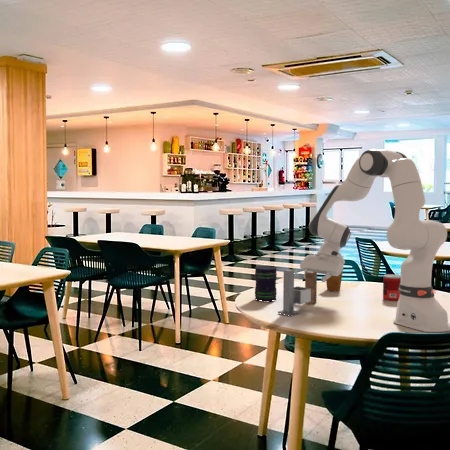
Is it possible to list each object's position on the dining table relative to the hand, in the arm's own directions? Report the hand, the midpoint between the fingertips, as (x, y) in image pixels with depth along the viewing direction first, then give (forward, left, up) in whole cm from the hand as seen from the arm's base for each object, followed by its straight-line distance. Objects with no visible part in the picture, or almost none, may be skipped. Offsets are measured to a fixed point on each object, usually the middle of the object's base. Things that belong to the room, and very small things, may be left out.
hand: (313, 279), depth 231 cm
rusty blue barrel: (+12, +18, -10) cm, 24 cm away
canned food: (-7, -37, -10) cm, 39 cm away
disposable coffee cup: (+20, -23, -10) cm, 32 cm away
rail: (-1, +2, -10) cm, 10 cm away
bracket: (-13, +17, -10) cm, 24 cm away
